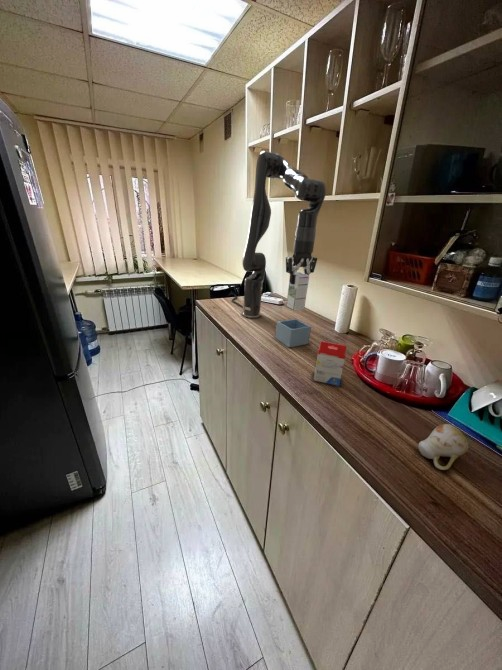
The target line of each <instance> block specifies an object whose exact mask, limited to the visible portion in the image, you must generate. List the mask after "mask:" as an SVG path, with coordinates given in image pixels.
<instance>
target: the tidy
mask: <svg viewBox="0 0 502 670" xmlns="http://www.w3.org/2000/svg"><path fill="white" fill-rule="evenodd" d="M311 331H312V326H311V325H309V324H307V323H306V322H303V321H301V320H300V319H297V318H291V319H286V320H285V319H284V320H277V321H276V327H275V336H274V337H275V339H276V340H278V341H279V342H280V343H282V344H283V345H284V346H286V347H287V348H294V347H298V346H299V347H300V346H304V345H310V344H309V343H310V338H311V337H310V336H311Z"/></svg>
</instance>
